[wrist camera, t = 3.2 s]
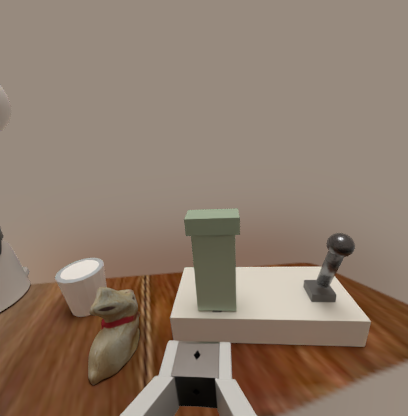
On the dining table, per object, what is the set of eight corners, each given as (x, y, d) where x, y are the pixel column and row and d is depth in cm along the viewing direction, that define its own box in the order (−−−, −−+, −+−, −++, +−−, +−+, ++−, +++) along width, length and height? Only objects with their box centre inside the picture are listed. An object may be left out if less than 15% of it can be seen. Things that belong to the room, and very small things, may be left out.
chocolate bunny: (155, 343, 28) (144, 281, 25) (93, 391, 23) (69, 320, 20) (136, 320, 32) (124, 263, 29) (80, 357, 27) (58, 293, 24)
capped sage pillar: (193, 313, 27) (184, 219, 23) (196, 296, 30) (188, 210, 26) (240, 313, 26) (239, 217, 22) (239, 296, 29) (237, 208, 25)
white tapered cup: (86, 288, 40) (77, 256, 38) (119, 291, 39) (111, 257, 36) (56, 318, 33) (43, 281, 31) (95, 322, 32) (83, 283, 30)
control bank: (173, 340, 28) (168, 310, 27) (186, 286, 39) (184, 261, 37) (364, 346, 26) (372, 313, 24) (324, 286, 36) (327, 260, 35)
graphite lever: (314, 294, 27) (336, 246, 22) (308, 276, 29) (326, 228, 24) (336, 294, 27) (363, 245, 21) (328, 276, 29) (351, 227, 23)
